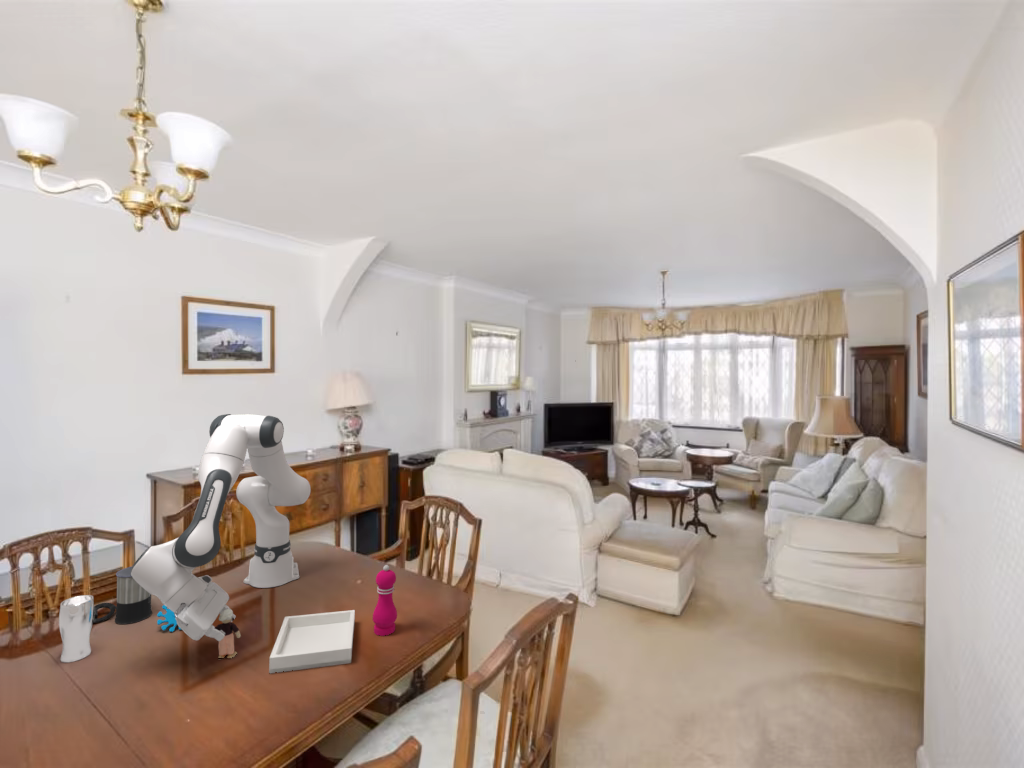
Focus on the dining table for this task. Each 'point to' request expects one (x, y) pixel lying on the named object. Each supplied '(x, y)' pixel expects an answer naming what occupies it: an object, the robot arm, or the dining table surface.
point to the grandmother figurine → (227, 634)
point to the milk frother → (127, 601)
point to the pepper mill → (385, 603)
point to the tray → (313, 641)
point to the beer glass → (76, 627)
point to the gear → (167, 619)
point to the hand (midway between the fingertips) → (228, 628)
